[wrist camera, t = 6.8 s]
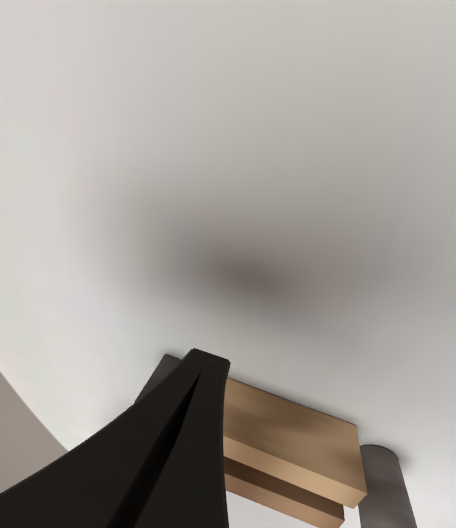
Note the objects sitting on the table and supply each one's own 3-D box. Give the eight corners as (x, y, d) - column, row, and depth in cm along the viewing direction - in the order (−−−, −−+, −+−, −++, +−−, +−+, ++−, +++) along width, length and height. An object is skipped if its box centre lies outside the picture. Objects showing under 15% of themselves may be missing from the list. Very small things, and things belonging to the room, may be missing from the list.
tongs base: (406, 455, 16) (430, 533, 13) (380, 486, 18) (396, 561, 15) (162, 370, 19) (133, 419, 15) (159, 404, 20) (132, 454, 17)
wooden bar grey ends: (356, 425, 16) (368, 495, 13) (344, 441, 17) (353, 511, 14) (165, 354, 18) (134, 401, 15) (162, 372, 19) (133, 421, 15)
